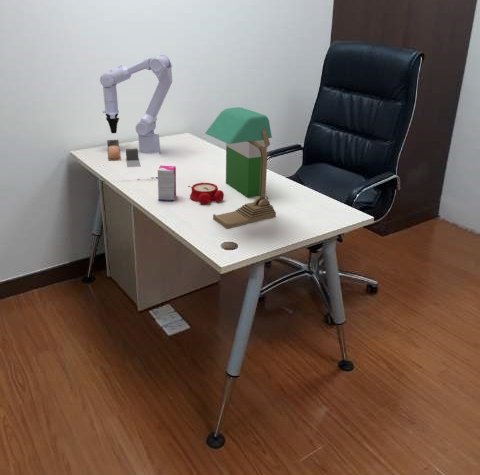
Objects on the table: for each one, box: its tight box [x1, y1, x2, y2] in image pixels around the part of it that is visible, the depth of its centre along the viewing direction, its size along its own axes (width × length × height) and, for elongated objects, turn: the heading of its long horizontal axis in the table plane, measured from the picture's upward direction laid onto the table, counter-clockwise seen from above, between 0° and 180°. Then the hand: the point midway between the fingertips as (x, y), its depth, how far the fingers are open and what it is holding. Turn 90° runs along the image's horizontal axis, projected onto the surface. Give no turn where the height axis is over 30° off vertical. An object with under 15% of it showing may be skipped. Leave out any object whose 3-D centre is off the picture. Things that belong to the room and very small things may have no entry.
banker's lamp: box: [204, 107, 277, 229], centre depth 155 cm, size 16×21×35 cm
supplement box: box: [157, 165, 177, 202], centre depth 175 cm, size 6×6×12 cm
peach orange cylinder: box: [106, 139, 122, 162], centre depth 219 cm, size 6×18×6 cm, turn 15°
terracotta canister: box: [107, 145, 121, 160], centre depth 214 cm, size 4×4×5 cm
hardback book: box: [225, 139, 268, 199], centre depth 183 cm, size 18×7×24 cm, turn 28°
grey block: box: [125, 148, 141, 168], centre depth 210 cm, size 6×12×6 cm, turn 15°
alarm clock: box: [187, 182, 225, 206], centre depth 177 cm, size 11×6×15 cm
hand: (113, 131), depth 226 cm, fingers open, 7 cm apart
